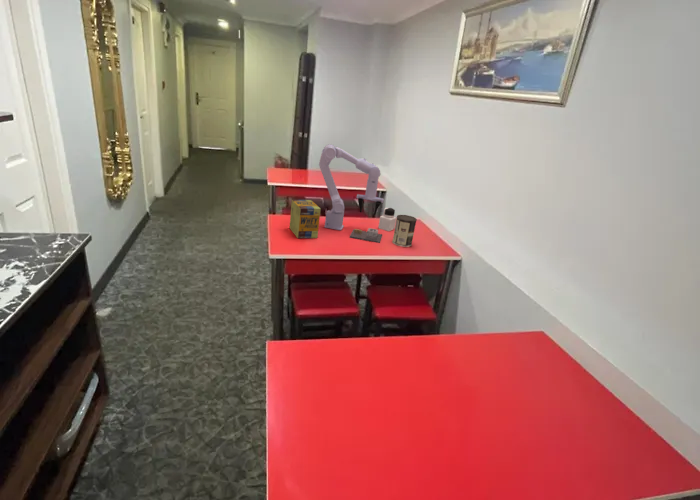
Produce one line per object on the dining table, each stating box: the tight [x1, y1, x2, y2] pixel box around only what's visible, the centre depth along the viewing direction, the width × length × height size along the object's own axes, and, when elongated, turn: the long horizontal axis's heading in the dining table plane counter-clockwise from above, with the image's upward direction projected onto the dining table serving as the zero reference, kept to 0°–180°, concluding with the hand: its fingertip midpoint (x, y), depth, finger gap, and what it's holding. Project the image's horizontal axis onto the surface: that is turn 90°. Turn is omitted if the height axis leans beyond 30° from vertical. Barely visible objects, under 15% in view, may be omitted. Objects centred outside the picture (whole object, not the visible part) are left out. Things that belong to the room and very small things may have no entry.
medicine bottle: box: [378, 207, 397, 232], centre depth 217 cm, size 7×7×12 cm
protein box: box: [289, 199, 321, 239], centre depth 192 cm, size 10×15×16 cm
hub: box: [366, 227, 379, 239], centre depth 201 cm, size 5×5×4 cm
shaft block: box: [349, 228, 383, 244], centre depth 201 cm, size 16×12×4 cm
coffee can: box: [391, 214, 418, 248], centre depth 197 cm, size 10×10×14 cm
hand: (367, 213), depth 208 cm, fingers open, 7 cm apart
